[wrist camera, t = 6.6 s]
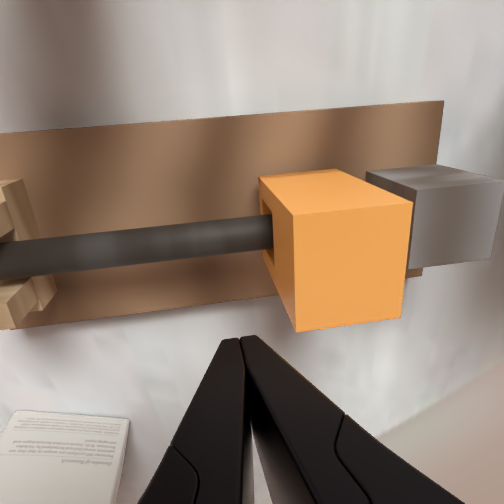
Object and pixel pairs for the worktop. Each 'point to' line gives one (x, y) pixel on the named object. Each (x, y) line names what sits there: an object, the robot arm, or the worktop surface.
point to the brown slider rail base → (207, 205)
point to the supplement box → (61, 458)
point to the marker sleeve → (335, 247)
